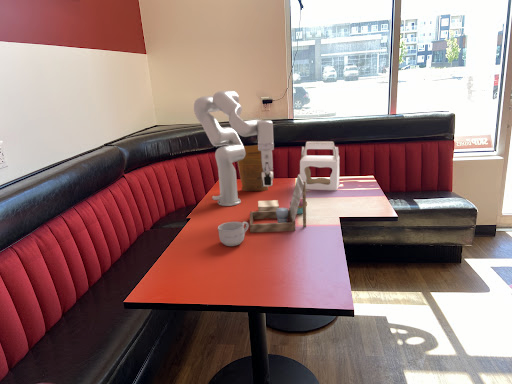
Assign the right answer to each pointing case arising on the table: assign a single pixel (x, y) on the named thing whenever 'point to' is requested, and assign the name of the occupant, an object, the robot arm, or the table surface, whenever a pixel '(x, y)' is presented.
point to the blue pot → (282, 215)
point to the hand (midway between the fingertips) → (267, 182)
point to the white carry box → (320, 166)
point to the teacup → (232, 233)
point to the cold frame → (292, 213)
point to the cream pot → (270, 176)
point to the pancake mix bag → (251, 170)
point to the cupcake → (300, 207)
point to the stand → (268, 205)
